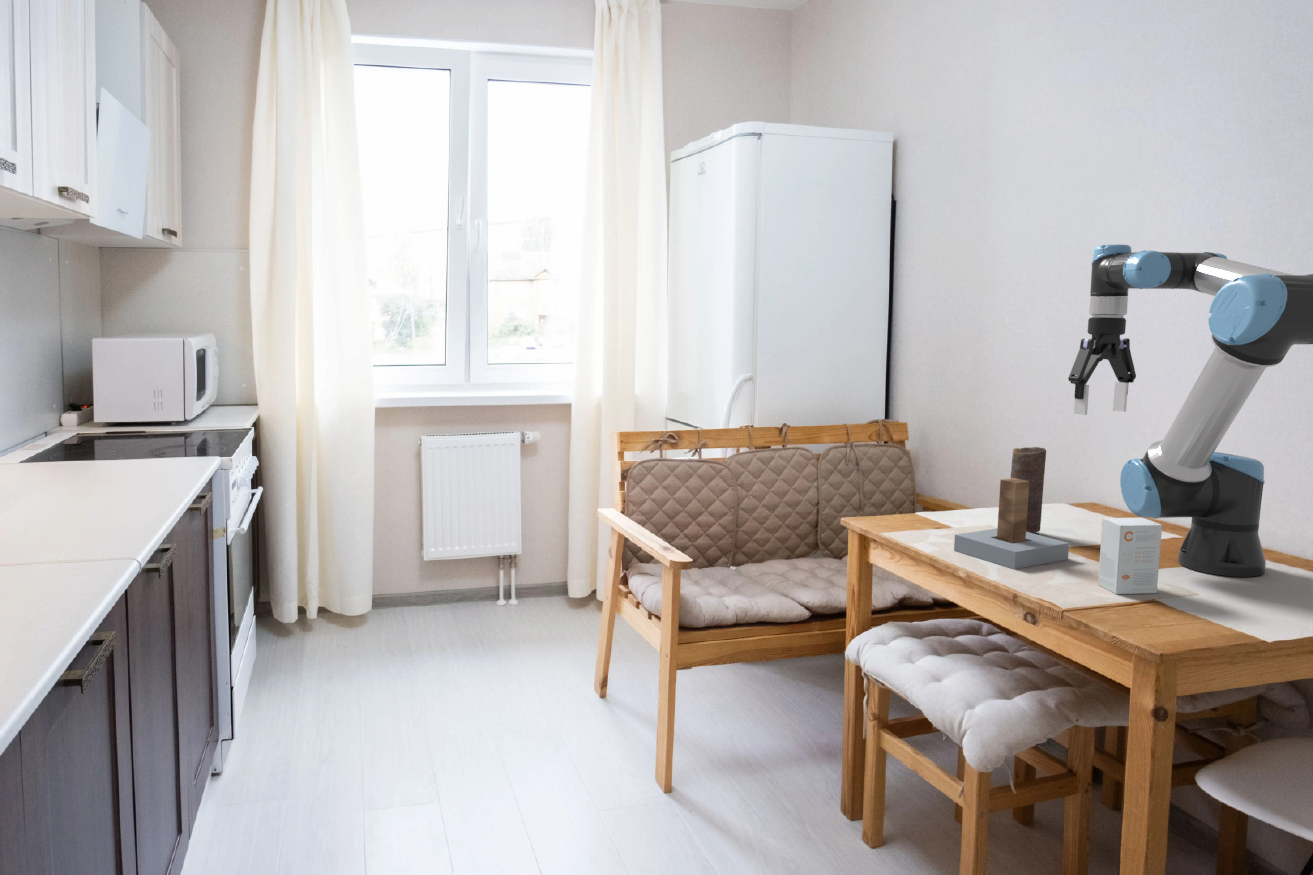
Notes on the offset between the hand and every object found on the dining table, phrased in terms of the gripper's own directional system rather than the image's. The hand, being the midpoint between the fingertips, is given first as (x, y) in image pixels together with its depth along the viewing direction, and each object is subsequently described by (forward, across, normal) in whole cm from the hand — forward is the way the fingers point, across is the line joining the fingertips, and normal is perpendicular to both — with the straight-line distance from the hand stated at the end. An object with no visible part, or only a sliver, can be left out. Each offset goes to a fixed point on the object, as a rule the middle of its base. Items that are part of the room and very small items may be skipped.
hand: (1100, 412), depth 210 cm
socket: (+29, +28, +1) cm, 40 cm away
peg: (+29, +28, +1) cm, 40 cm away
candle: (+29, +10, -10) cm, 32 cm away
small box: (+29, +29, +28) cm, 50 cm away
